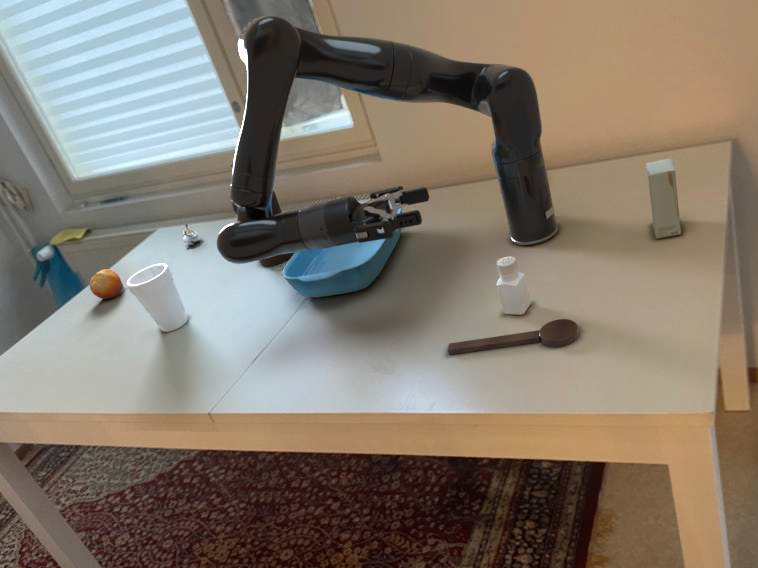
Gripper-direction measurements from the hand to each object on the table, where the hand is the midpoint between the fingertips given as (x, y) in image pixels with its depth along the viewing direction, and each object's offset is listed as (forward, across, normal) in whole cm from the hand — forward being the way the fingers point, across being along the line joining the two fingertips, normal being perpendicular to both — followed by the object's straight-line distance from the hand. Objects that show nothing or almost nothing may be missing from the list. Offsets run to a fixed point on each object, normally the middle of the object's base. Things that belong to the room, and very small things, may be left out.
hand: (424, 204), depth 112 cm
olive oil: (-50, +43, +24) cm, 70 cm away
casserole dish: (-27, +30, +23) cm, 46 cm away
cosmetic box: (+38, +18, +22) cm, 47 cm away
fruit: (-99, +41, +25) cm, 110 cm away
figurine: (-86, +66, +25) cm, 111 cm away
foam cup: (-68, +18, +24) cm, 74 cm away
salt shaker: (+11, -1, +22) cm, 24 cm away
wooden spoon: (+11, -11, +22) cm, 26 cm away
